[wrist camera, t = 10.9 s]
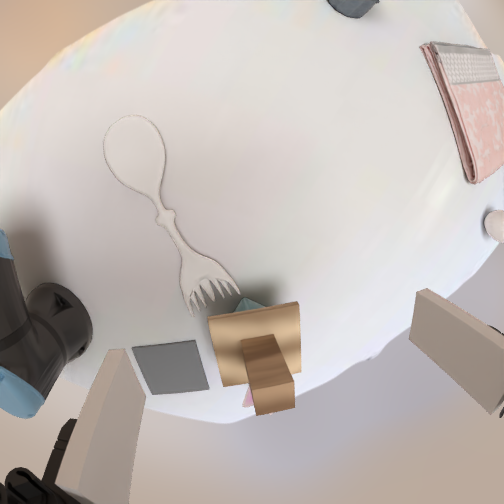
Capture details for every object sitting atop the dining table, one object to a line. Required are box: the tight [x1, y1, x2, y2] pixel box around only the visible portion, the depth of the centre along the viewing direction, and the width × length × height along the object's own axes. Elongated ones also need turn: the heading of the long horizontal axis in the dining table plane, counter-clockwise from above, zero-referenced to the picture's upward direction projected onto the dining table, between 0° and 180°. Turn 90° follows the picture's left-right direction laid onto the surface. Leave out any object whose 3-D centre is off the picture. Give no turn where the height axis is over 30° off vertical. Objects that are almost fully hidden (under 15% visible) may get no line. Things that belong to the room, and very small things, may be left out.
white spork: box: [103, 115, 240, 317], centre depth 37 cm, size 9×32×4 cm, turn 26°
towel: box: [420, 41, 504, 184], centre depth 39 cm, size 36×34×6 cm
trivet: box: [132, 340, 209, 395], centre depth 46 cm, size 12×12×1 cm
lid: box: [208, 301, 301, 416], centre depth 32 cm, size 12×12×11 cm
